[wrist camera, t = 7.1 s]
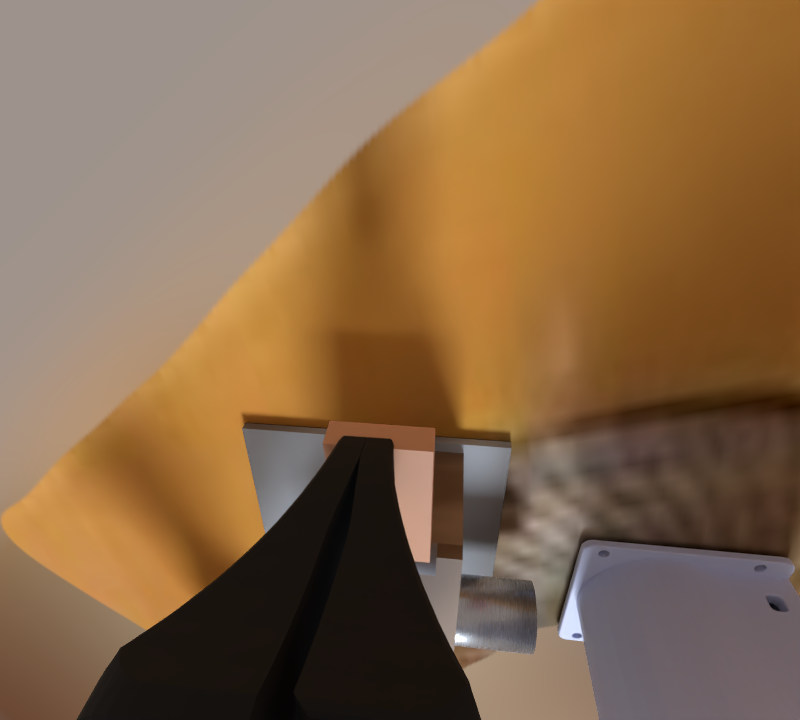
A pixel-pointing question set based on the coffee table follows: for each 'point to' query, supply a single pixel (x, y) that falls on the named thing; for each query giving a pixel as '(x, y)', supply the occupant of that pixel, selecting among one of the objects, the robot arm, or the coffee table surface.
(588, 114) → the coffee table surface
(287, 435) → the block
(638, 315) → the coffee table surface
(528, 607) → the pin
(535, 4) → the coffee table surface
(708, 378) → the coffee table surface
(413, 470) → the block
